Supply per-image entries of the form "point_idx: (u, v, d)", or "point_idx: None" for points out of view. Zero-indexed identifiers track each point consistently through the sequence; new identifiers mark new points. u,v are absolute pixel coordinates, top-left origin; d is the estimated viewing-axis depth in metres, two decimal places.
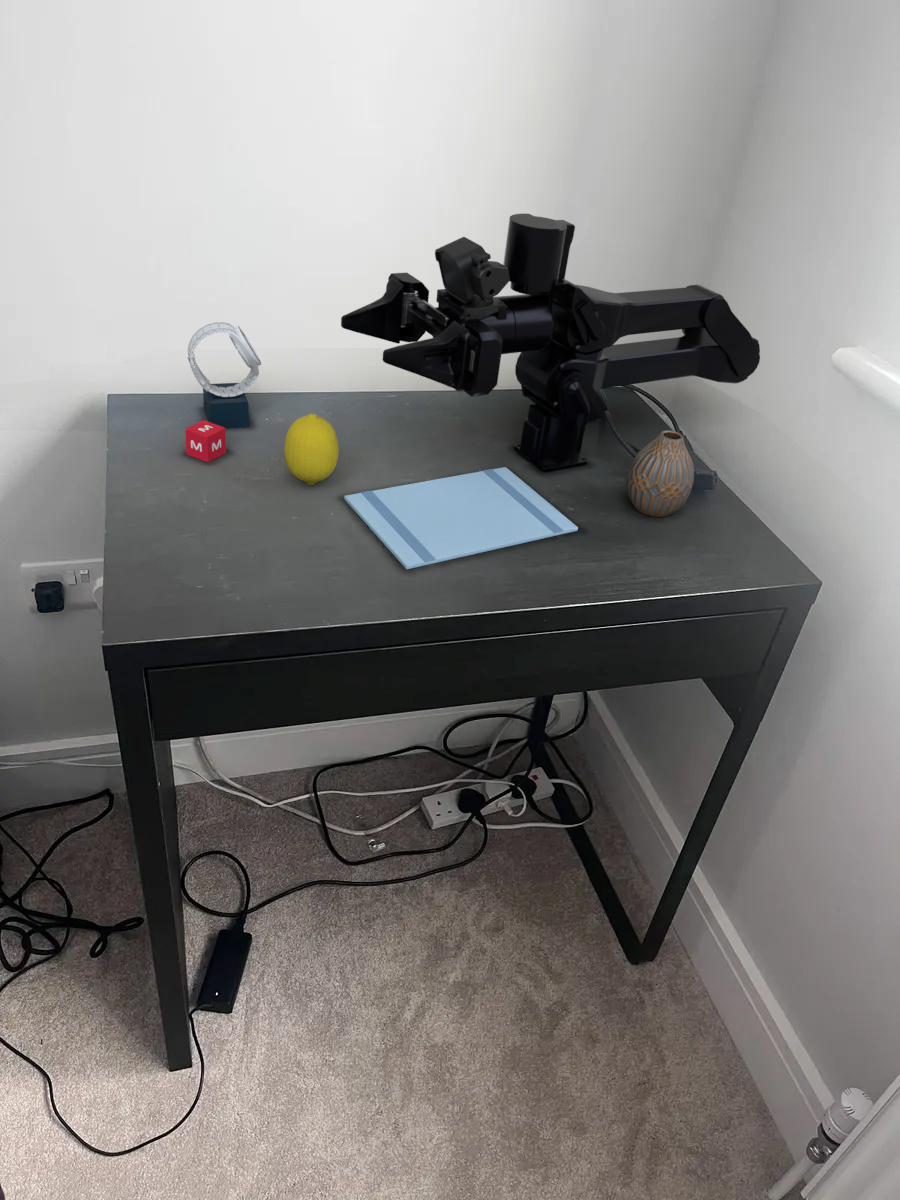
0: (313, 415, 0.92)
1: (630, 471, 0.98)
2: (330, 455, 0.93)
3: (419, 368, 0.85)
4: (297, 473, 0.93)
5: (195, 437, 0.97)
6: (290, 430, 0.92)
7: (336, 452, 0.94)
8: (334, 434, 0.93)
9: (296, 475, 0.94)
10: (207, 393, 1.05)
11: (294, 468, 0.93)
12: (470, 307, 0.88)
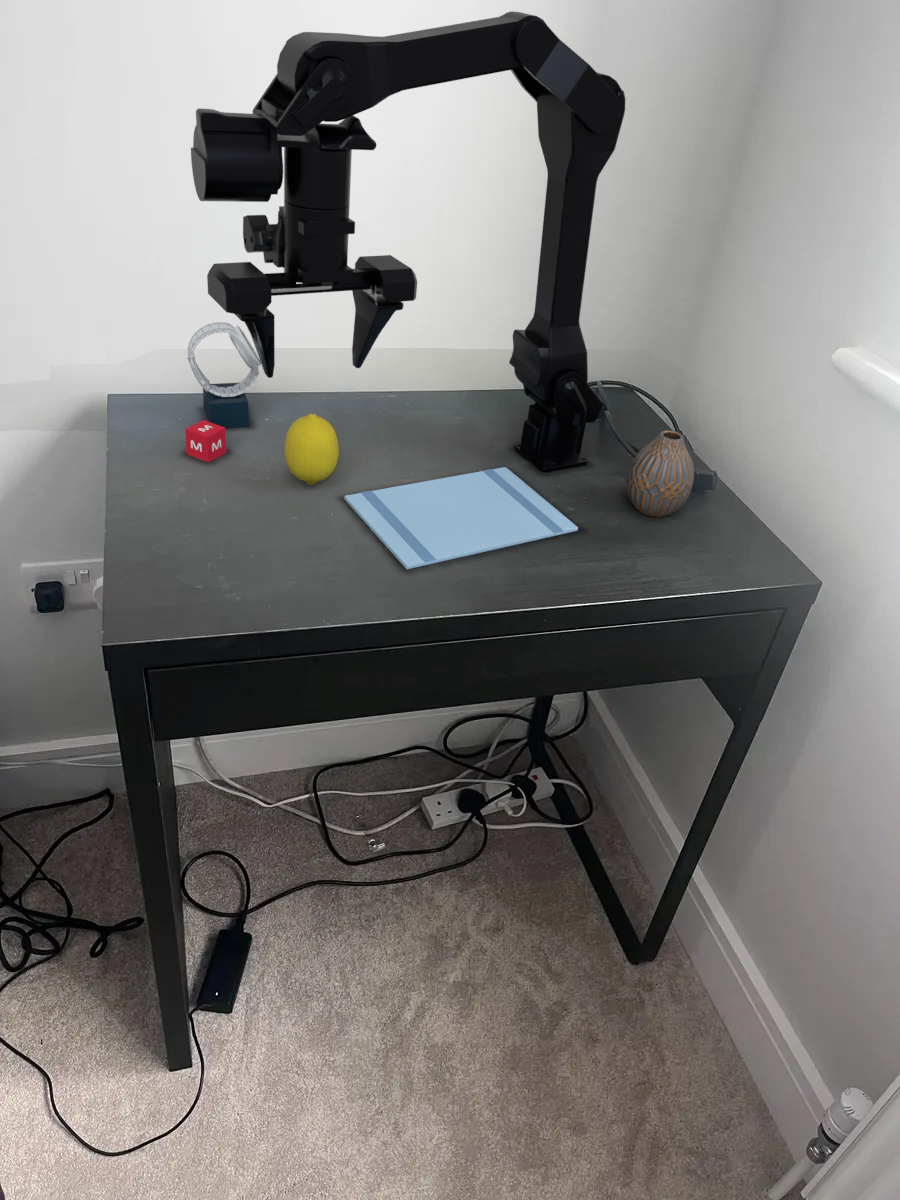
0: (313, 415, 0.92)
1: (630, 471, 0.98)
2: (330, 455, 0.93)
3: (261, 348, 0.84)
4: (297, 473, 0.93)
5: (195, 437, 0.97)
6: (290, 430, 0.92)
7: (336, 452, 0.94)
8: (334, 434, 0.93)
9: (296, 475, 0.94)
10: (207, 393, 1.05)
11: (294, 468, 0.93)
12: None
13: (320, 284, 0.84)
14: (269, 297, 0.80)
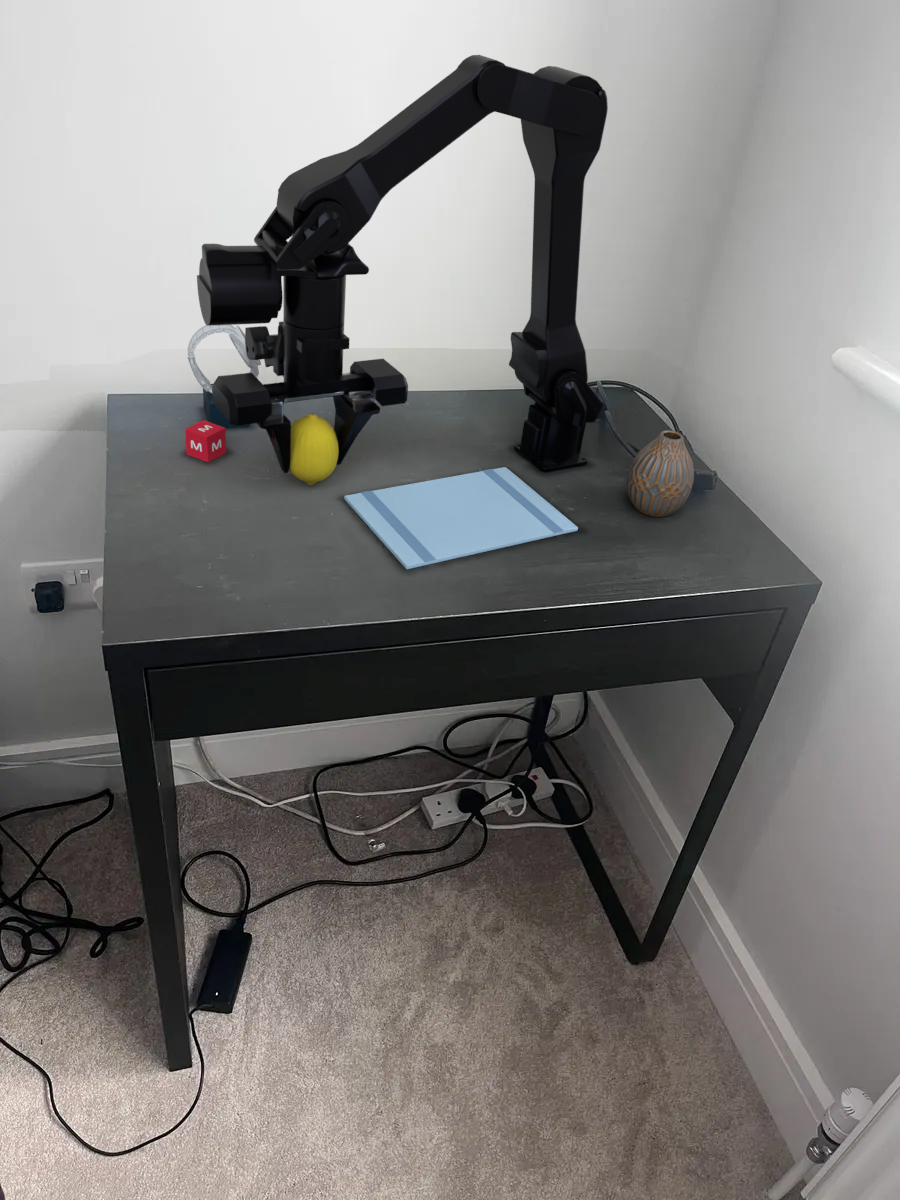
0: (313, 415, 0.92)
1: (630, 471, 0.98)
2: (330, 455, 0.93)
3: (278, 448, 0.91)
4: (297, 473, 0.93)
5: (195, 437, 0.97)
6: None
7: (336, 452, 0.94)
8: (334, 434, 0.93)
9: (296, 475, 0.94)
10: (207, 393, 1.05)
11: (294, 468, 0.93)
12: None
13: (333, 390, 0.90)
14: (269, 409, 0.86)
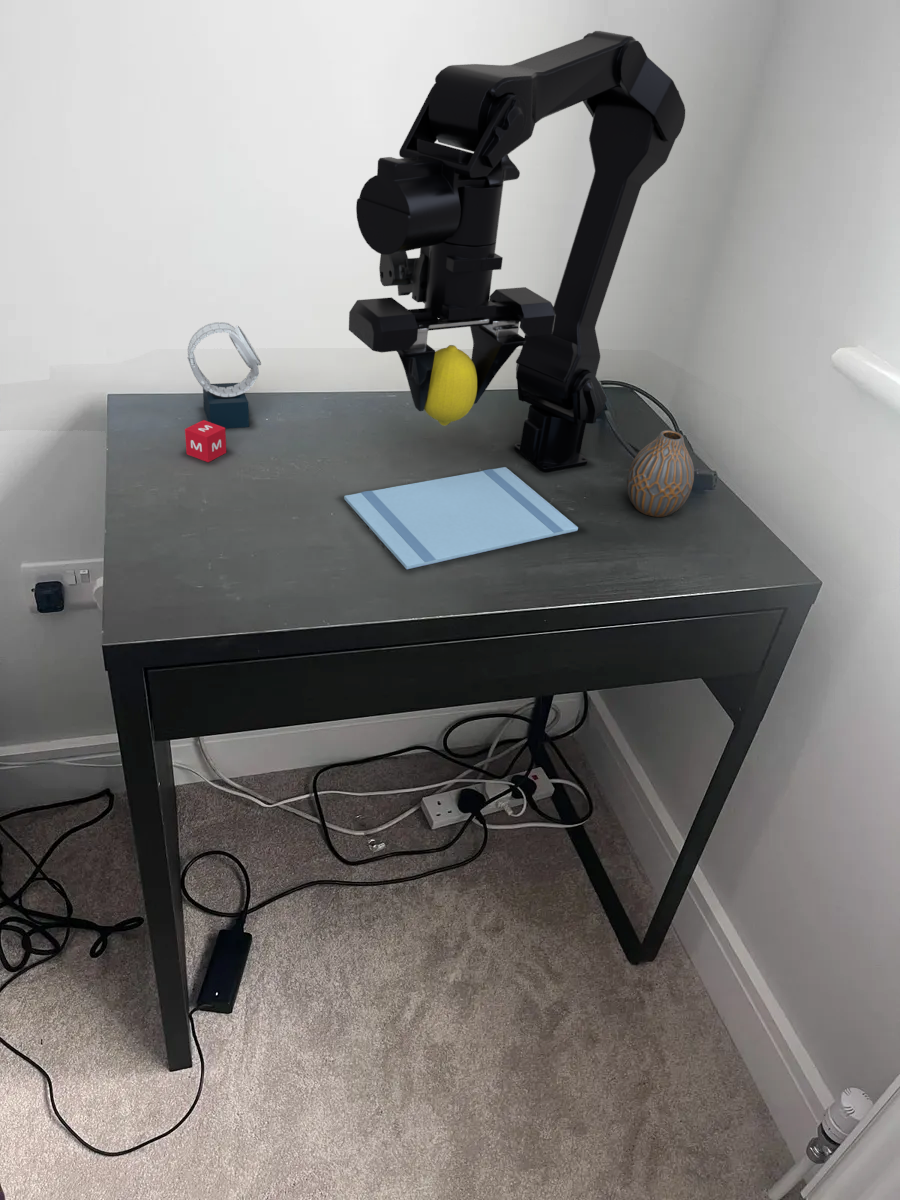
0: (453, 346, 0.84)
1: (630, 471, 0.98)
2: (470, 390, 0.85)
3: (416, 382, 0.83)
4: (434, 411, 0.86)
5: (195, 437, 0.97)
6: None
7: (476, 388, 0.86)
8: (474, 368, 0.85)
9: (431, 413, 0.86)
10: (207, 393, 1.05)
11: (430, 405, 0.86)
12: None
13: (477, 318, 0.83)
14: (415, 335, 0.78)
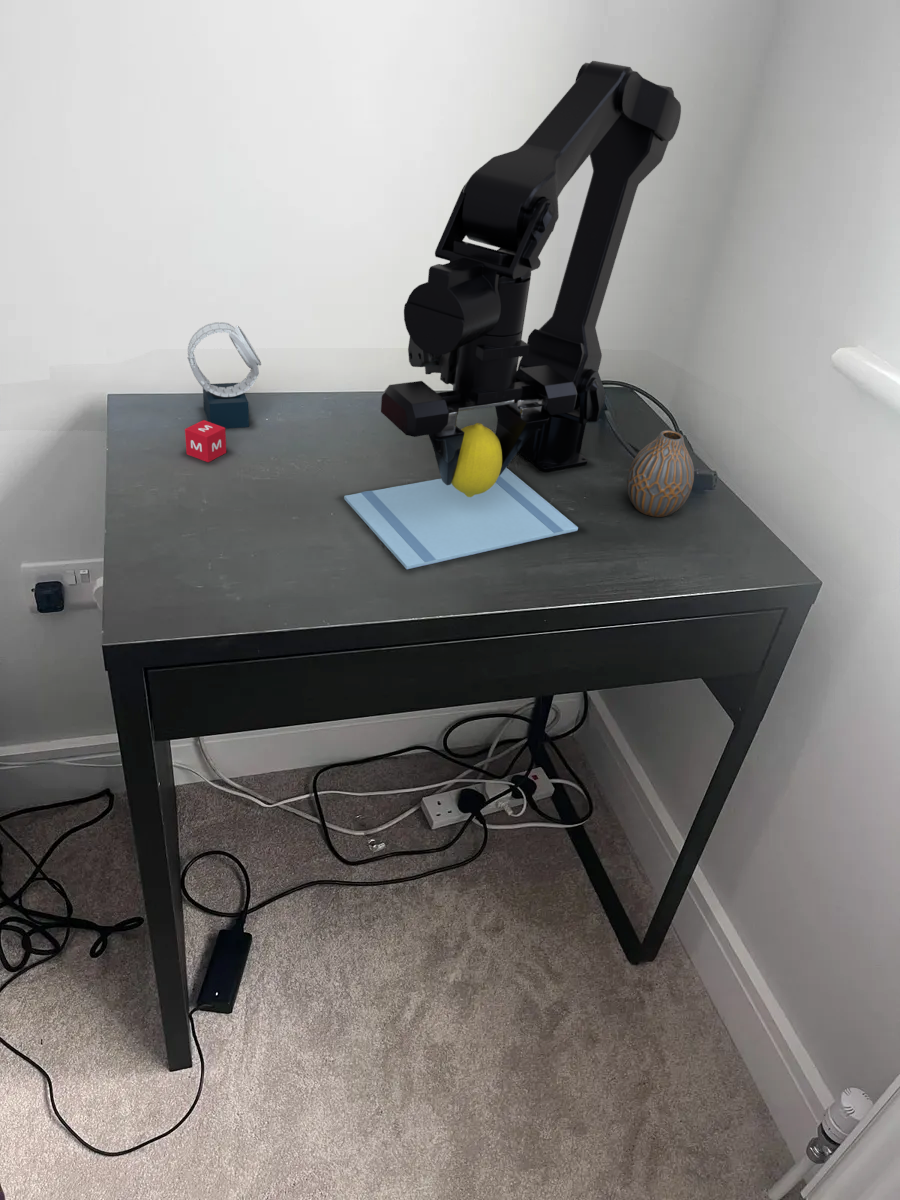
0: (480, 425, 0.88)
1: (630, 471, 0.98)
2: (496, 466, 0.89)
3: (445, 460, 0.87)
4: (460, 485, 0.89)
5: (195, 437, 0.97)
6: None
7: (501, 463, 0.90)
8: (500, 444, 0.89)
9: (458, 487, 0.90)
10: (207, 393, 1.05)
11: (458, 480, 0.89)
12: None
13: None
14: (446, 419, 0.82)
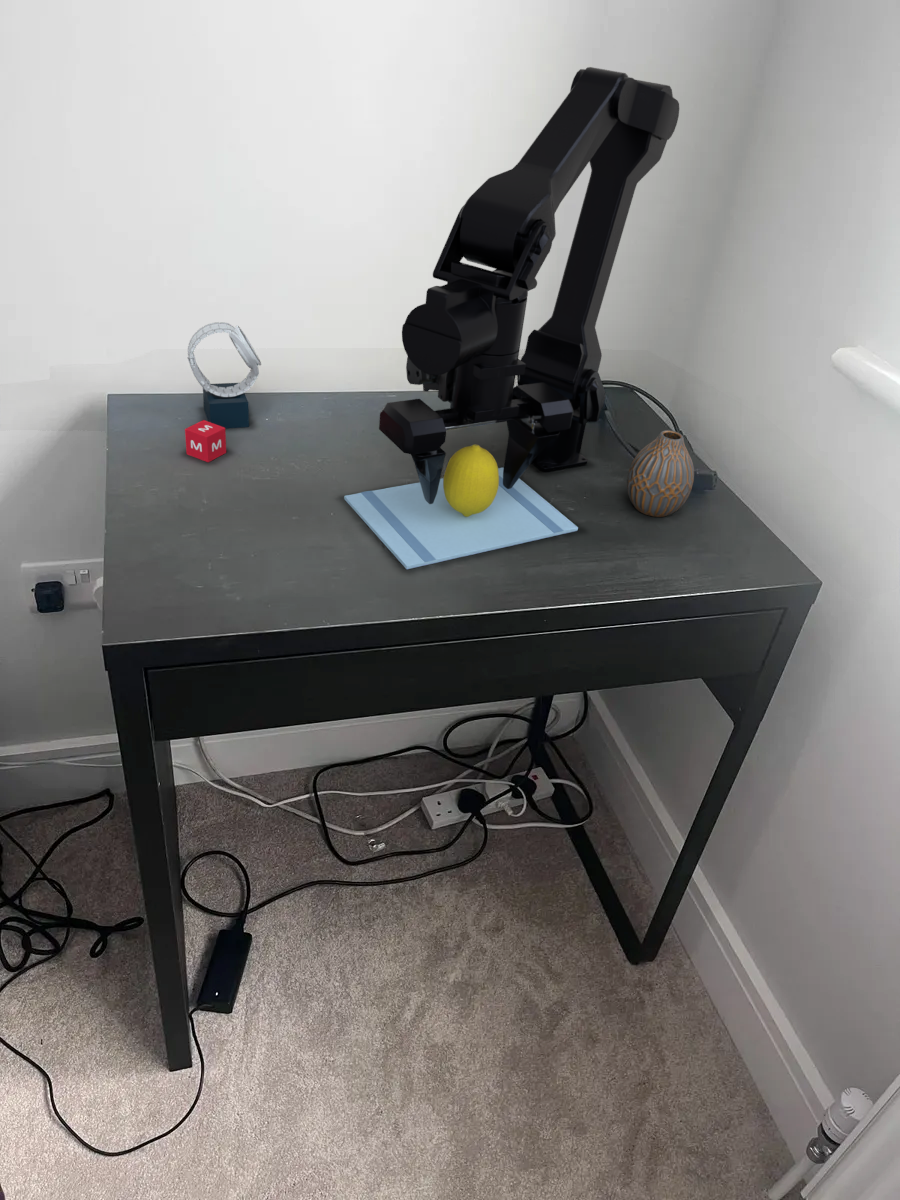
0: (477, 446, 0.89)
1: (630, 471, 0.98)
2: (493, 487, 0.90)
3: (427, 479, 0.87)
4: (458, 505, 0.91)
5: (195, 437, 0.97)
6: (453, 461, 0.90)
7: (497, 484, 0.91)
8: (496, 465, 0.90)
9: (456, 507, 0.91)
10: (207, 393, 1.05)
11: (455, 500, 0.90)
12: None
13: None
14: (443, 437, 0.83)
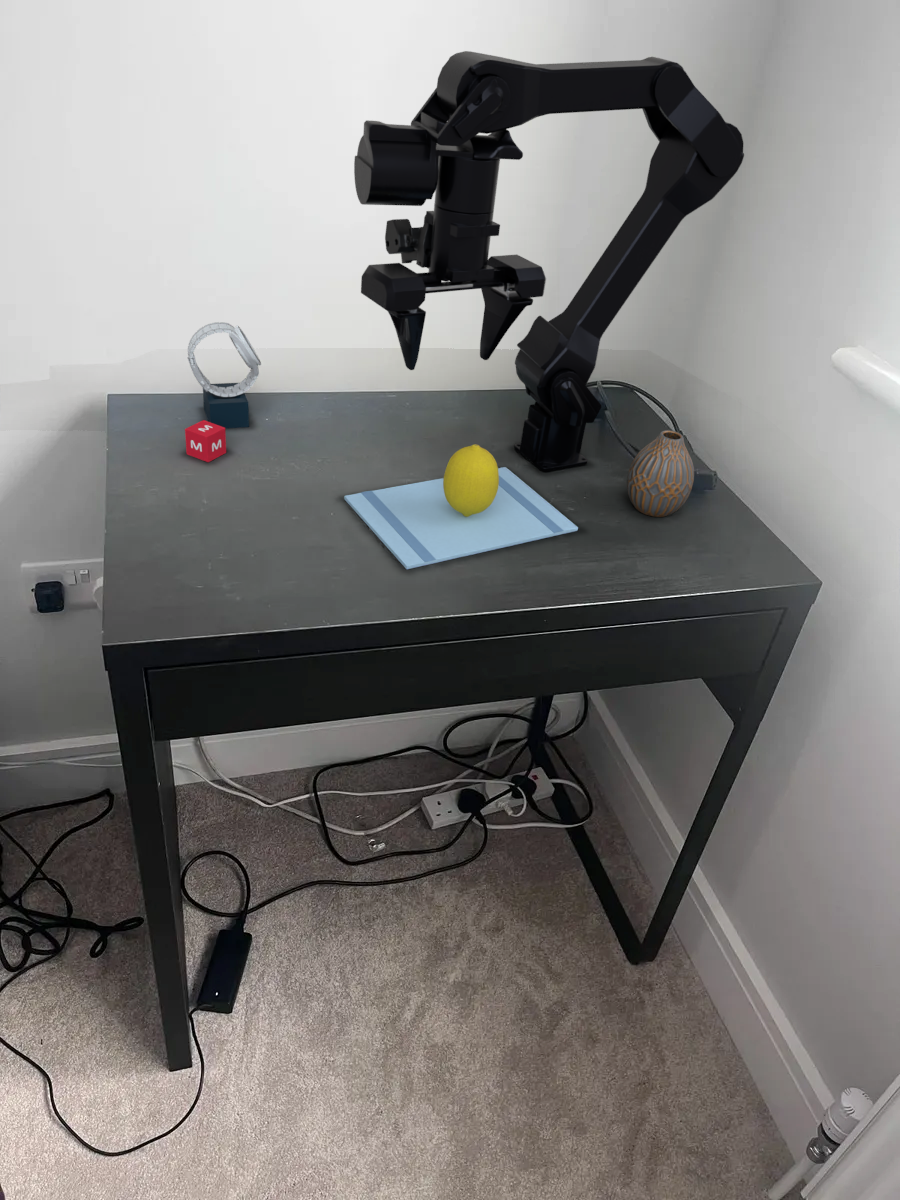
0: (477, 446, 0.89)
1: (630, 471, 0.98)
2: (493, 487, 0.90)
3: (408, 342, 0.91)
4: (458, 505, 0.91)
5: (195, 437, 0.97)
6: (452, 461, 0.90)
7: (497, 484, 0.91)
8: (496, 465, 0.90)
9: (456, 507, 0.91)
10: (207, 393, 1.05)
11: (455, 500, 0.90)
12: None
13: (462, 282, 0.90)
14: (423, 295, 0.87)
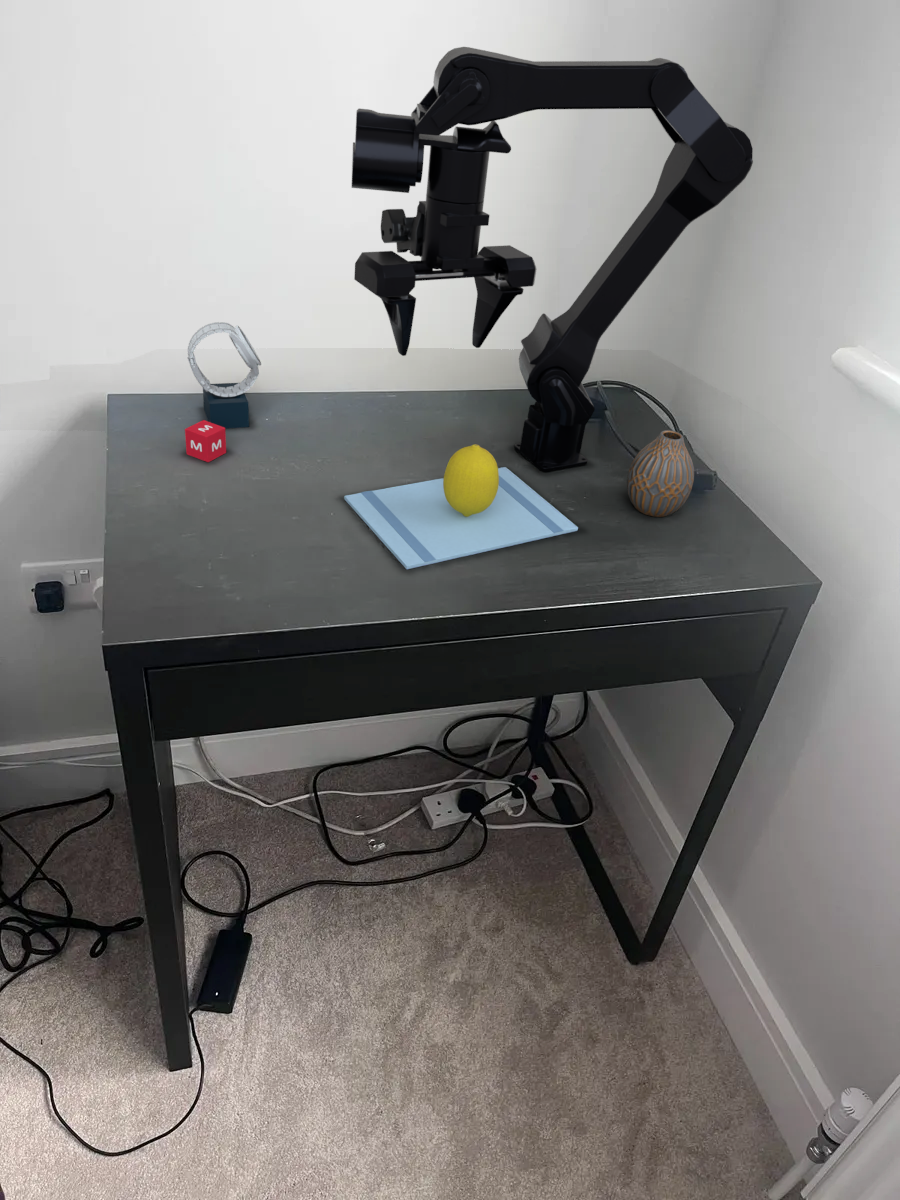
0: (477, 446, 0.89)
1: (630, 471, 0.98)
2: (493, 487, 0.90)
3: (399, 328, 0.94)
4: (458, 505, 0.91)
5: (195, 437, 0.97)
6: (452, 461, 0.90)
7: (497, 484, 0.91)
8: (496, 465, 0.90)
9: (456, 507, 0.91)
10: (207, 393, 1.05)
11: (455, 500, 0.90)
12: None
13: (453, 271, 0.93)
14: (413, 282, 0.90)
